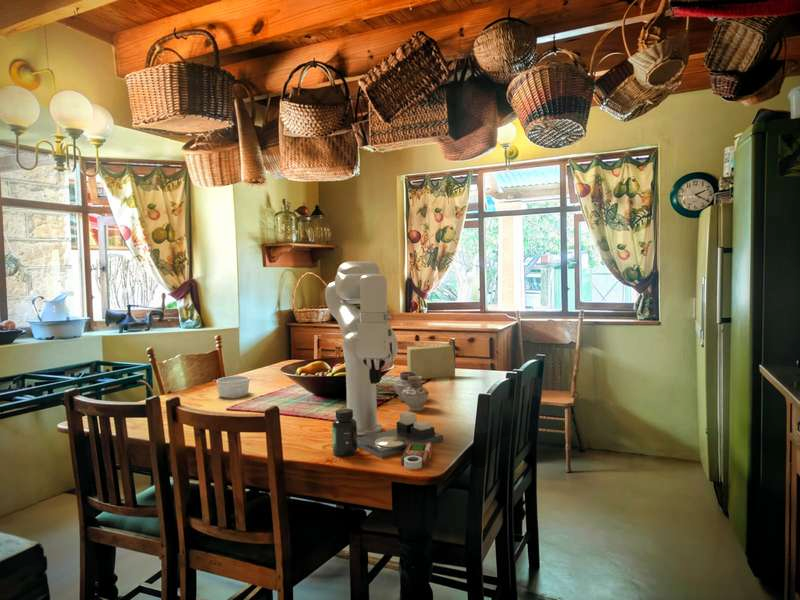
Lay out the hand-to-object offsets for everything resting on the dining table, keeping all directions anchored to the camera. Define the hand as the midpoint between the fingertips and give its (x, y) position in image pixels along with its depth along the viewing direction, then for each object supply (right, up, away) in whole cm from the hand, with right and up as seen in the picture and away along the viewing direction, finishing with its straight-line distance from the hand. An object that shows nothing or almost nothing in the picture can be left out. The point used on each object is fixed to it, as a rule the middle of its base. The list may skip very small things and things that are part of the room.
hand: (375, 382), depth 150 cm
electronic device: (+11, -20, -8) cm, 24 cm away
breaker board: (+7, -19, +5) cm, 21 cm away
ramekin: (-63, -17, +71) cm, 96 cm away
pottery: (+11, -16, +51) cm, 55 cm away
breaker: (+9, -15, +11) cm, 21 cm away
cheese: (+22, -13, +99) cm, 103 cm away
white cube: (+14, -16, +6) cm, 22 cm away
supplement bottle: (-8, -20, -2) cm, 21 cm away
